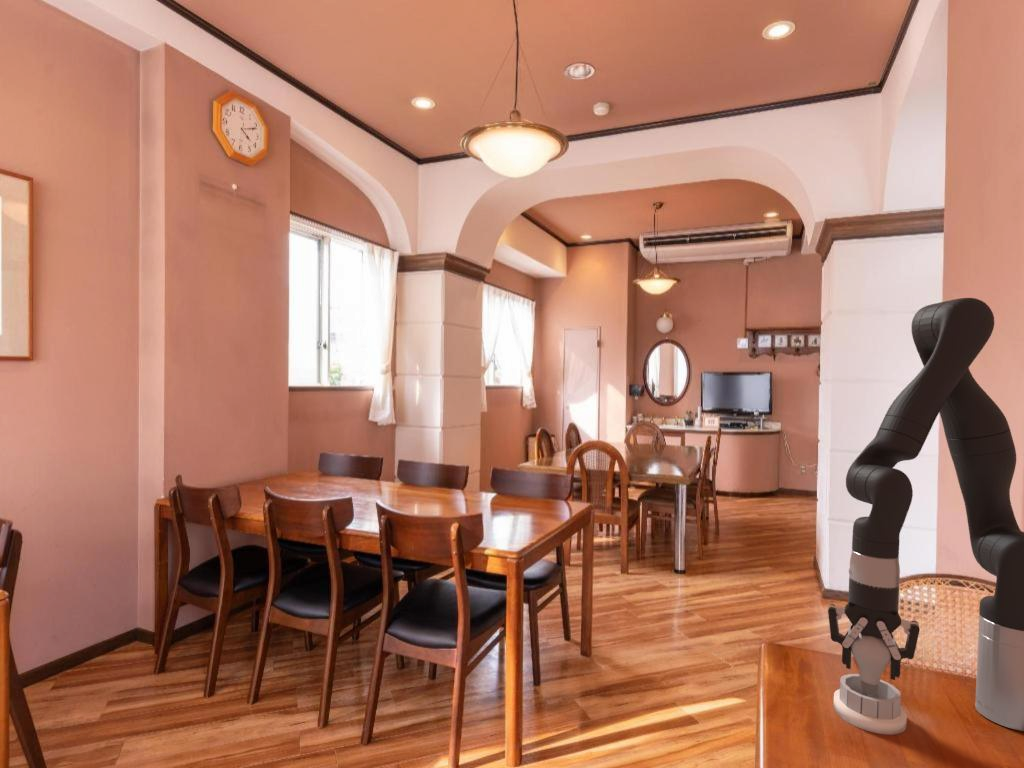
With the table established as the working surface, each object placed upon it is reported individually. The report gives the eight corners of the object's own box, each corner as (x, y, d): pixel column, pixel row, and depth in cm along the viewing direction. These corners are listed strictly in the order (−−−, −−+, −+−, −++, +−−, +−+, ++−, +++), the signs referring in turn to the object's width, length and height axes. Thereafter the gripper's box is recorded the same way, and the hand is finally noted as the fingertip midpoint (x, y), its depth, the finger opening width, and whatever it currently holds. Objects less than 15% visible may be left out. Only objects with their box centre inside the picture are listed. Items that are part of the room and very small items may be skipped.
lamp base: (881, 698, 109) (882, 672, 109) (921, 735, 98) (922, 706, 98) (821, 696, 109) (822, 670, 109) (854, 733, 98) (855, 703, 98)
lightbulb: (895, 707, 100) (898, 643, 100) (856, 702, 101) (859, 639, 101) (880, 688, 106) (883, 628, 106) (843, 683, 107) (846, 624, 107)
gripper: (922, 580, 103) (917, 675, 103) (828, 564, 110) (825, 652, 111) (925, 594, 96) (920, 694, 97) (826, 575, 104) (822, 669, 104)
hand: (869, 671), depth 104 cm, fingers closed on lightbulb, 6 cm apart
